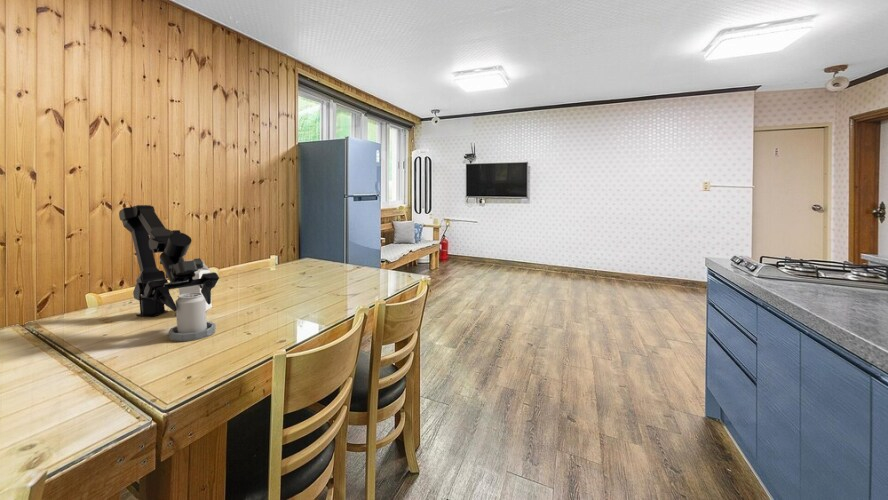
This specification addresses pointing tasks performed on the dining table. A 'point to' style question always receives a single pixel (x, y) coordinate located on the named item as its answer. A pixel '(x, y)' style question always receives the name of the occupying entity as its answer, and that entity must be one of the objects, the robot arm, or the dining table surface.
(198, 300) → the can
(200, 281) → the robot arm
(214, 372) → the dining table surface
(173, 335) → the ring coaster
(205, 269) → the milk carton
